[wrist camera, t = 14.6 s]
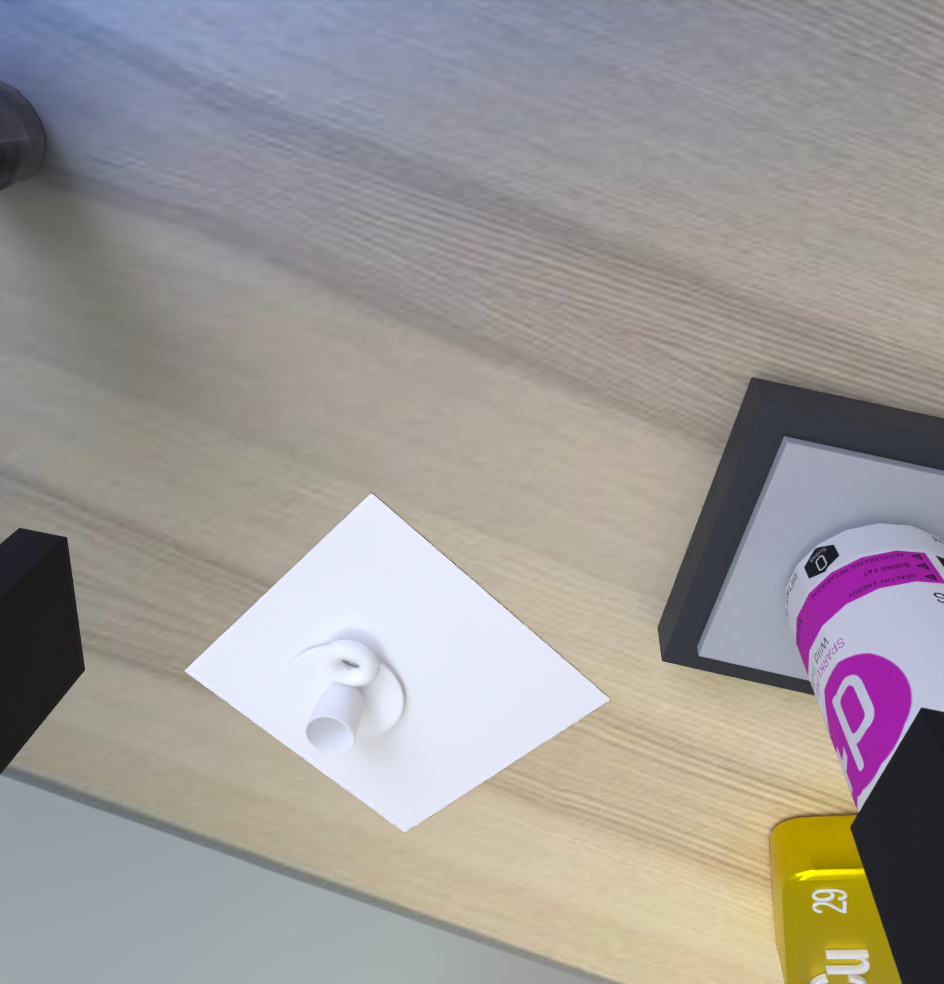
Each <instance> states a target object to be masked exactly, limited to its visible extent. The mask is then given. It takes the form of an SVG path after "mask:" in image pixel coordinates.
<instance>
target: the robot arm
mask: <svg viewBox="0 0 944 984" xmlns="http://www.w3.org/2000/svg"><path fill="white" fill-rule="evenodd" d="M84 671H85V666H84V659H83V651H82V644H81V637H80V629H79V622H78V615H77V607H76V600H75V593H74V585H73V578H72V570H71V563H70V556H69V548H68V541H67V537H62V536H57V535H52V534H47V533H42V532H37V531H32V530H27V529H22V528H19V529H18V530H16V531H15V532H14V533H13V534H12V535H10V536H9V537H8V538H7V539H6V540H5V541H3V542H2V543H1V544H0V774H1V773H2V772H3V770H4V769H5V768H6V767H7V765H8V764H9V763H10V762H11V761H12V759H13V758H14V757H15V756H16V754H17V753H18V752H19V751H20V749H21V748H22V747H23V746H24V745H25V743H26V742H27V741H28V740H29V738H30V737H31V736H32V735H33V733H34V732H35V731H36V730H37V728H38V727H39V726H40V725H41V724H42V722H43V721H44V720H45V719H46V717H47V716H48V715H49V714H50V712H51V711H52V710H53V709H54V708H55V706H56V705H57V704H58V703H59V701H60V700H61V699H62V698H63V696H64V695H65V694H66V693H67V692H68V690H69V689H70V688H71V687H72V685H73V684H74V683H75V682H76V680H77V679H78V678H79V677H80V675H81V674H82V673H83V672H84ZM850 829H851V832H852V835H853V838H854V841H855V844H856V847H857V850H858V853H859V856H860V859H861V862H862V865H863V868H864V871H865V874H866V877H867V880H868V883H869V886H870V889H871V892H872V895H873V898H874V901H875V904H876V907H877V910H878V913H879V916H880V919H881V922H882V925H883V928H884V931H885V934H886V937H887V940H888V943H889V946H890V949H891V952H892V955H893V958H894V961H895V964H896V967H897V970H898V973H899V976H900V979H901V982H902V984H944V712H942V711H937V710H932V709H927V708H922V707H921V709H920V710H919V712H918V714H917V715H916V717H915V719H914V720H913V722H912V724H911V725H910V727H909V729H908V731H907V732H906V734H905V736H904V737H903V739H902V741H901V742H900V744H899V746H898V747H897V749H896V751H895V752H894V754H893V756H892V757H891V759H890V761H889V762H888V764H887V766H886V767H885V769H884V771H883V773H882V774H881V776H880V778H879V779H878V781H877V783H876V784H875V786H874V788H873V789H872V791H871V793H870V794H869V796H868V798H867V799H866V801H865V803H864V804H863V806H862V808H861V809H860V811H859V813H858V815H857V816H856V818H855V820H854V821H853V823H852V825H851V826H850Z"/></svg>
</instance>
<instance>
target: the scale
mask: <svg viewBox="0 0 944 984" xmlns="http://www.w3.org/2000/svg"><path fill="white" fill-rule="evenodd" d="M878 523H881V524H895V525H909V526H913V527H915V528H918V529H920V530H923V531H925V532H928V533H930V534H932V535H935V536H937V537H939V538H940V539H941V540H942V541H943V542H944V419H943V418H938V417H933V416H929V415H924V414H919V413H915V412H910V411H905V410H901V409H896V408H892V407H887V406H882V405H878V404H873V403H868V402H864V401H859V400H854V399H850V398H845V397H841V396H836V395H831V394H827V393H822V392H817V391H813V390H808V389H803V388H799V387H794V386H789V385H785V384H780V383H776V382H771V381H766V380H762V379H757V378H752V379H751V381H750V384H749V387H748V389H747V392H746V395H745V397H744V400H743V402H742V405H741V408H740V410H739V413H738V416H737V418H736V421H735V424H734V426H733V429H732V432H731V434H730V437H729V440H728V442H727V445H726V448H725V450H724V453H723V456H722V458H721V461H720V464H719V466H718V469H717V472H716V474H715V477H714V480H713V482H712V485H711V488H710V490H709V493H708V496H707V498H706V501H705V504H704V506H703V509H702V512H701V514H700V517H699V519H698V522H697V525H696V527H695V530H694V533H693V535H692V538H691V541H690V543H689V546H688V549H687V551H686V554H685V557H684V559H683V562H682V565H681V567H680V570H679V573H678V575H677V578H676V581H675V583H674V586H673V589H672V591H671V594H670V597H669V599H668V602H667V605H666V607H665V610H664V613H663V615H662V618H661V621H660V623H659V626H658V634H659V642H660V650H661V657H662V661H664V662H669V663H673V664H678V665H682V666H686V667H691V668H695V669H700V670H704V671H709V672H713V673H718V674H722V675H726V676H731V677H735V678H740V679H744V680H749V681H753V682H758V683H762V684H766V685H771V686H775V687H780V688H784V689H789V690H793V691H798V692H802V693H807V694H811V695H815V693H814V691H813V688H812V685H811V683H810V680H809V677H808V674H807V672H806V669H805V666H804V663H803V661H802V658H801V655H800V653H799V650H798V647H797V644H796V642H795V639H794V636H793V633H792V631H791V628H790V625H789V623H788V620H787V617H786V614H785V589H786V587H787V584H788V582H789V580H790V578H791V576H792V574H793V572H794V570H795V568H796V566H797V565H798V564H799V563H800V562H801V561H802V560H803V559H804V558H805V557H806V556H807V555H808V554H809V553H810V552H811V551H812V550H813V549H814V548H815V547H816V546H817V545H818V544H820V543H822V542H824V541H826V540H828V539H830V538H832V537H834V536H836V535H838V534H840V533H841V532H843V531H845V530H849V529H854V528H859V527H863V526H868V525H873V524H878Z"/></svg>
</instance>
